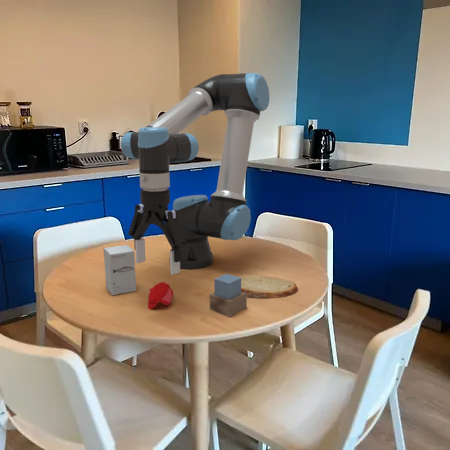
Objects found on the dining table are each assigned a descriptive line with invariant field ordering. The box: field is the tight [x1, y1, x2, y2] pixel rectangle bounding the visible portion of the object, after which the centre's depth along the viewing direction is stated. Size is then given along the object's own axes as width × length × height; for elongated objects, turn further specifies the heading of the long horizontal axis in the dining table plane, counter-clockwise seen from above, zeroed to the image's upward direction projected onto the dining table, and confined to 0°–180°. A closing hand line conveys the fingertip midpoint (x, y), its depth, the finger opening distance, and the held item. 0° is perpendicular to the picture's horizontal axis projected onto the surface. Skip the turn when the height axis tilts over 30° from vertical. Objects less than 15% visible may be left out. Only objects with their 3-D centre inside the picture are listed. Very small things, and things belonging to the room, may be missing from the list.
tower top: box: [213, 273, 241, 300], centre depth 120 cm, size 5×5×4 cm
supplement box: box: [103, 244, 137, 296], centre depth 133 cm, size 7×7×13 cm
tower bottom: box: [209, 291, 248, 318], centre depth 121 cm, size 7×7×4 cm
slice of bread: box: [235, 273, 299, 300], centre depth 134 cm, size 18×18×4 cm
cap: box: [147, 281, 174, 310], centre depth 124 cm, size 8×6×6 cm
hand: (157, 267), depth 121 cm, fingers open, 13 cm apart
